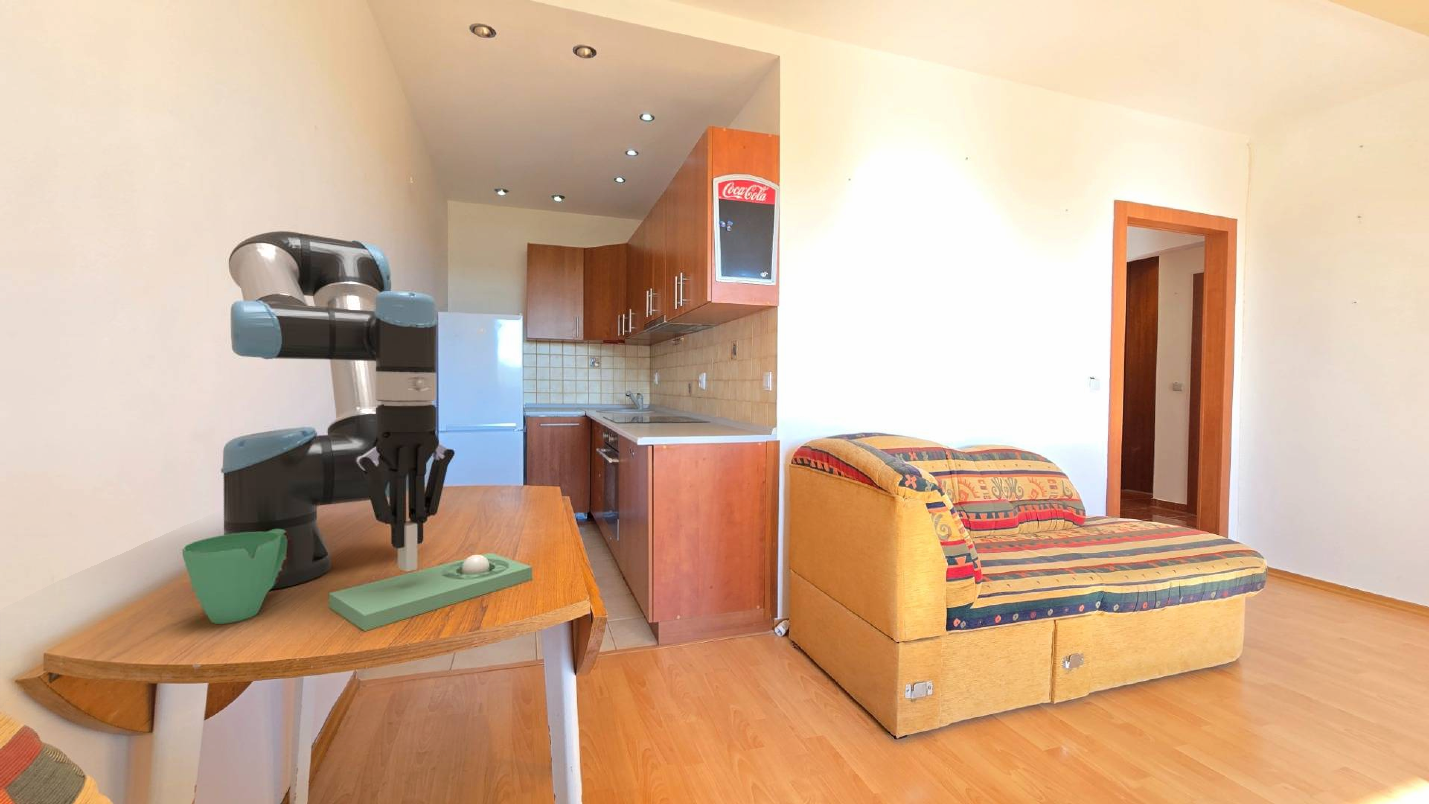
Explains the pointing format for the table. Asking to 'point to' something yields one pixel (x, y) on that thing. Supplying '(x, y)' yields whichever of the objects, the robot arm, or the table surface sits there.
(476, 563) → the ball
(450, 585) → the green rectangular board
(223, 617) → the mug
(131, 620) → the table surface
